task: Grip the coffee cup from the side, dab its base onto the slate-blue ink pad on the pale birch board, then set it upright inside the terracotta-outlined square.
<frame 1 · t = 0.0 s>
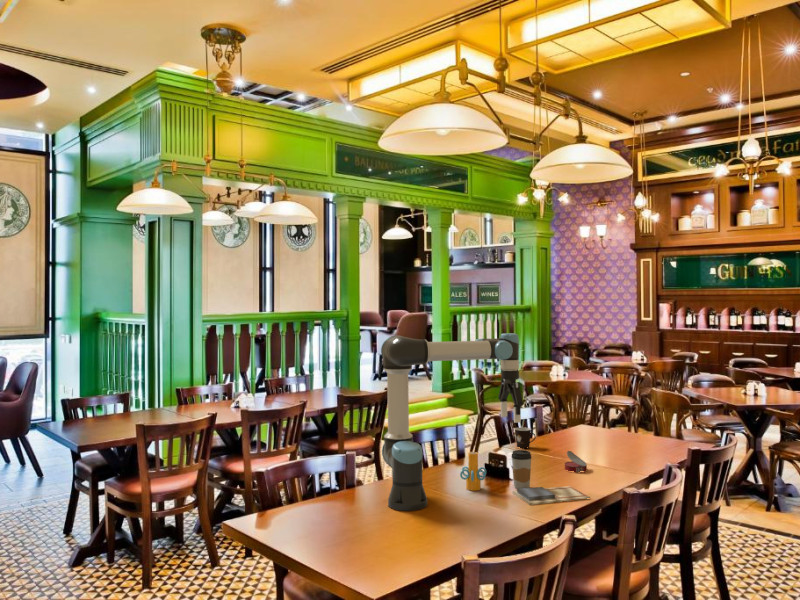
hand: (510, 419, 272), 28 cm above the table, tool pointing down, fingers open, 13 cm apart
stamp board: (550, 496, 257), on the table
canned food: (575, 470, 296), on the table
orange box with loops: (473, 489, 268), on the table
coffee cup: (521, 488, 269), on the table
coffee mug: (524, 448, 341), on the table
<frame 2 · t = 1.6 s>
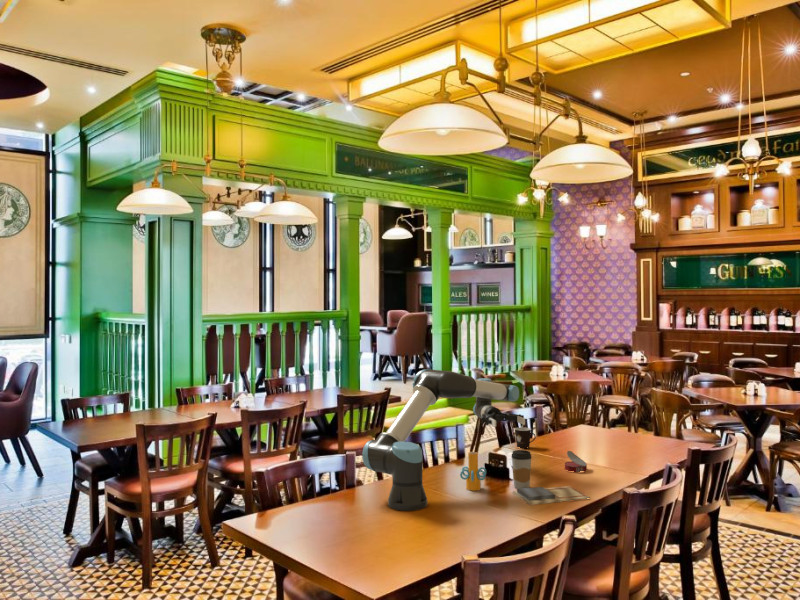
hand: (510, 422, 280), 25 cm above the table, tool horizontal, fingers open, 13 cm apart
nothing on the table moved.
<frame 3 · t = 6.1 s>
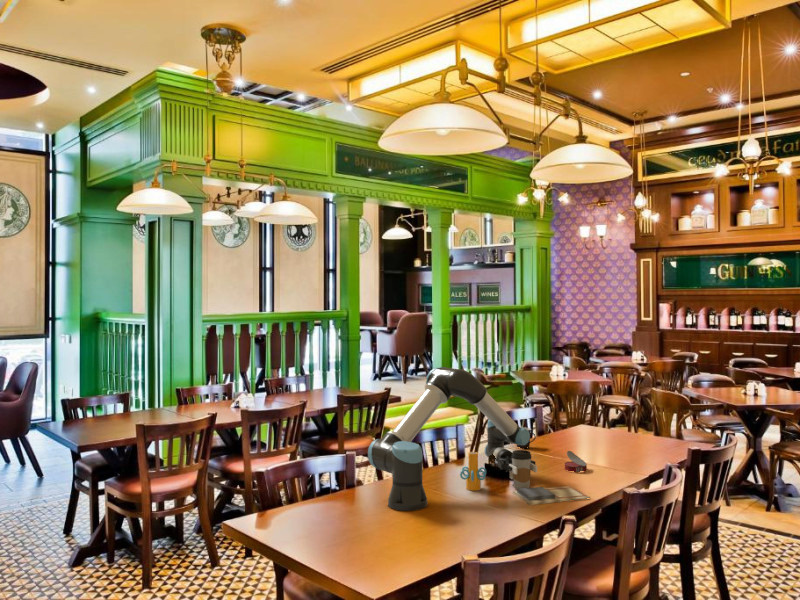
hand: (526, 470, 264), 9 cm above the table, tool horizontal, fingers closed on coffee cup, 8 cm apart
coffee cup: (521, 488, 269), on the table, touching gripper
everything else where it was.
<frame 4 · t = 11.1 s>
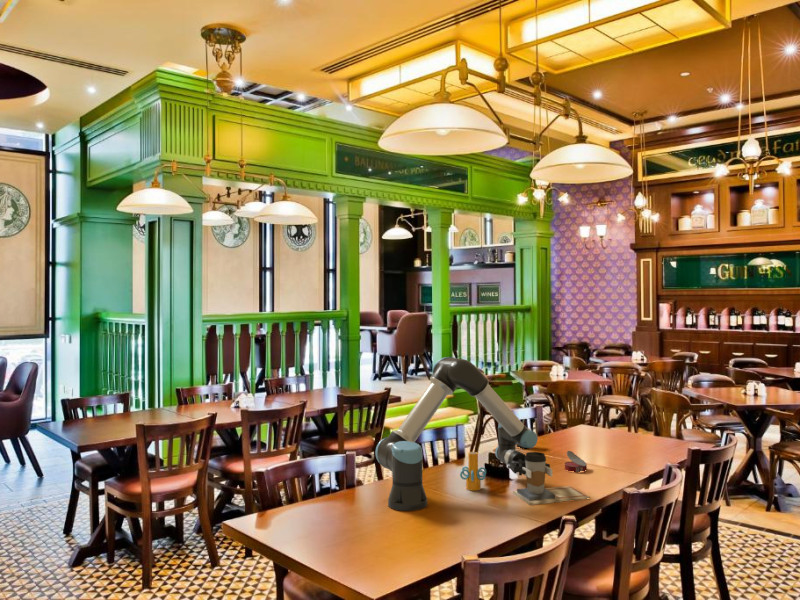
hand: (541, 473, 251), 11 cm above the table, tool horizontal, fingers closed on coffee cup, 8 cm apart
coffee cup: (535, 492, 255), point 2 cm above the table, touching gripper, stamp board
everything else where it was.
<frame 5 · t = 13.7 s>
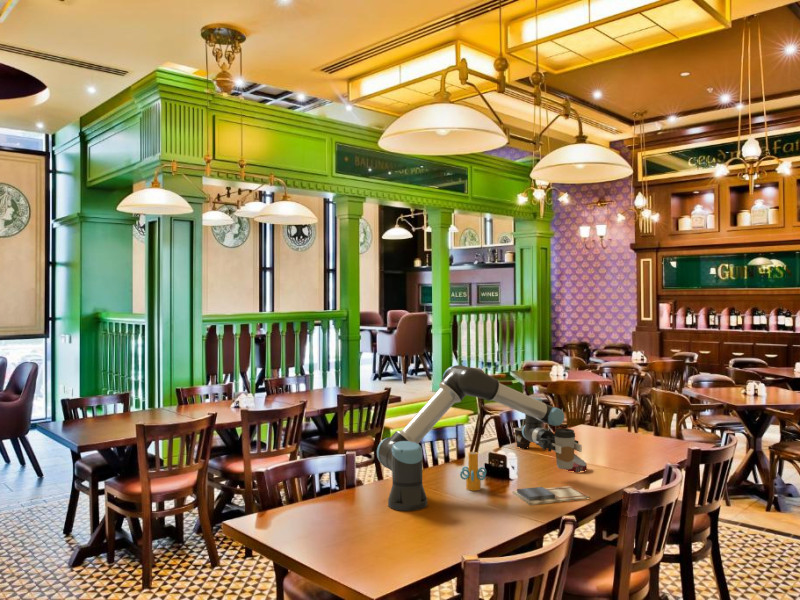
hand: (570, 449, 254), 19 cm above the table, tool horizontal, fingers closed on coffee cup, 8 cm apart
coffee cup: (565, 467, 258), point 11 cm above the table, touching gripper
everything else where it was.
when the fingers open (10 cm above the table, at t = 16.0 s): coffee cup drops 1 cm, resting on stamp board.
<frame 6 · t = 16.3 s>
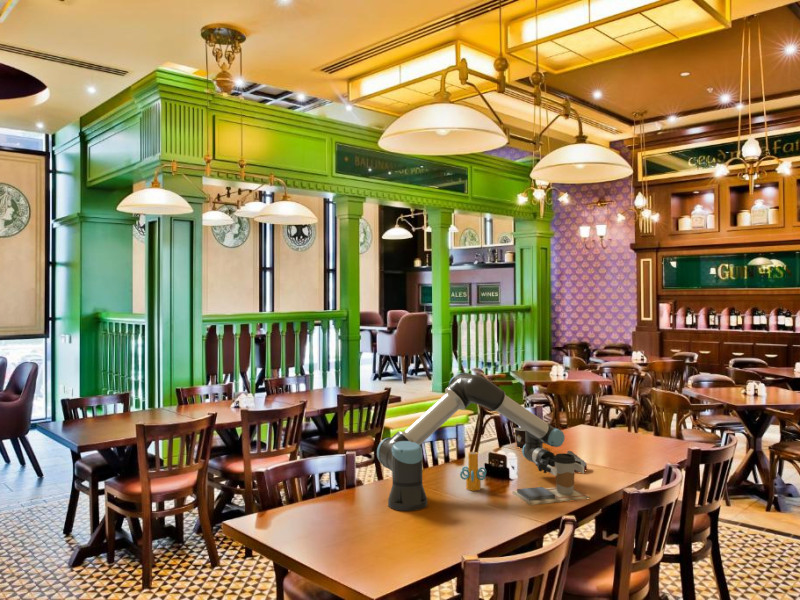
hand: (569, 471, 255), 10 cm above the table, tool horizontal, fingers open, 11 cm apart
coffee cup: (565, 493, 258), point 1 cm above the table, touching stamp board
everything else where it was.
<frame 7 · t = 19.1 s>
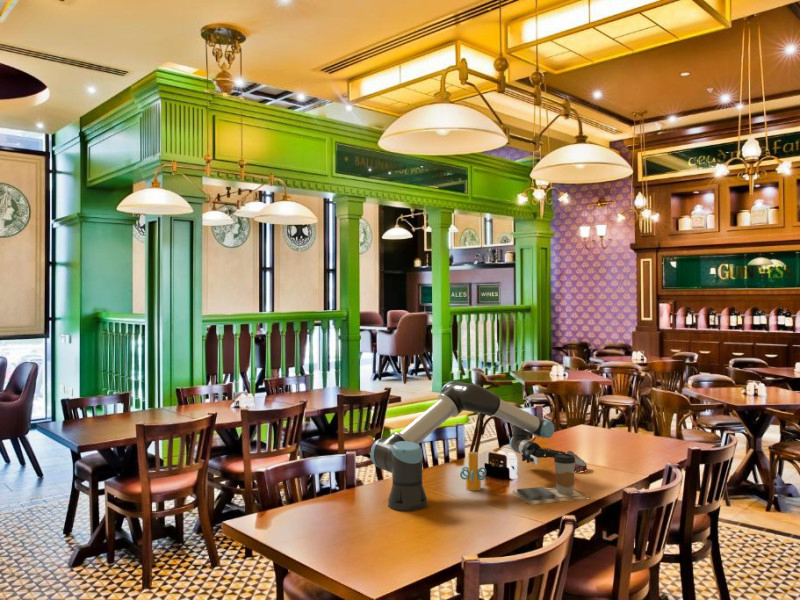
hand: (552, 460, 268), 11 cm above the table, tool horizontal, fingers open, 13 cm apart
nothing on the table moved.
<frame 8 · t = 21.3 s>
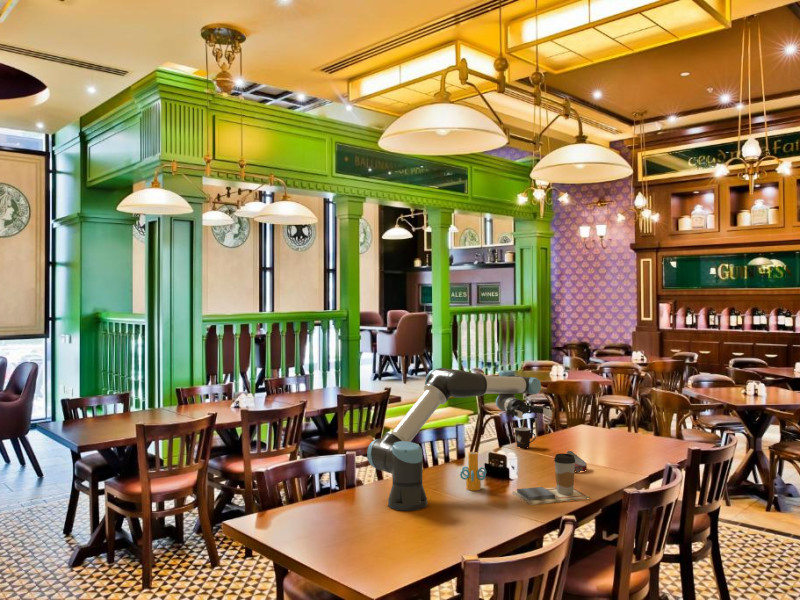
hand: (536, 414, 272), 30 cm above the table, tool horizontal, fingers open, 13 cm apart
nothing on the table moved.
at the end: coffee cup 0.1 cm from the target spot on the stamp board, point 0.6 cm above the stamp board's base; coffee cup tilted 0°; the gripper is holding nothing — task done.
